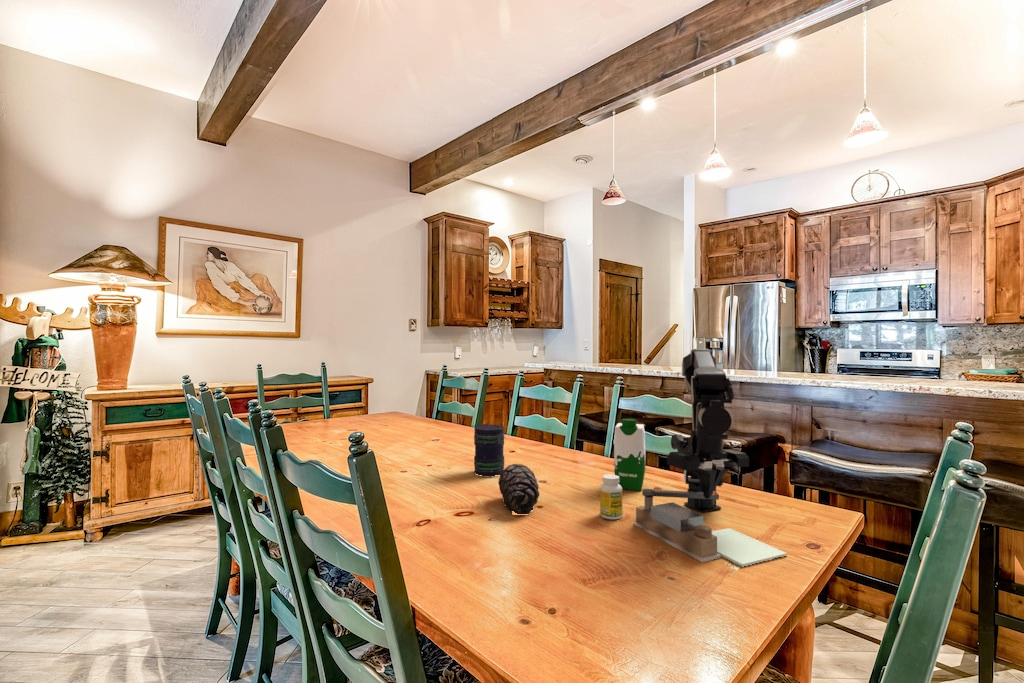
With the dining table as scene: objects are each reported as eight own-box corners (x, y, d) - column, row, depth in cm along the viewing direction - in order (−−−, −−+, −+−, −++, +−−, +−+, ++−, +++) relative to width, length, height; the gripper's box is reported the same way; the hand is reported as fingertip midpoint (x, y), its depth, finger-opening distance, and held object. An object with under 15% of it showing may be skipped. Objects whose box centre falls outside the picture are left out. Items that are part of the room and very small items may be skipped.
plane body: (633, 524, 110) (633, 494, 110) (650, 521, 112) (649, 492, 112) (701, 562, 90) (701, 526, 90) (720, 558, 92) (720, 523, 92)
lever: (642, 496, 107) (642, 489, 107) (641, 492, 110) (641, 486, 110) (719, 500, 105) (719, 493, 105) (716, 496, 107) (716, 489, 107)
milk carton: (612, 489, 136) (612, 419, 136) (616, 481, 145) (616, 415, 145) (644, 492, 133) (644, 421, 134) (646, 483, 142) (646, 416, 142)
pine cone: (510, 520, 113) (510, 478, 113) (494, 497, 130) (494, 460, 130) (551, 516, 115) (551, 475, 115) (530, 494, 132) (530, 458, 132)
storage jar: (470, 476, 150) (470, 429, 150) (477, 468, 160) (477, 424, 160) (501, 477, 148) (501, 430, 148) (506, 469, 158) (506, 425, 158)
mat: (729, 530, 106) (729, 527, 106) (787, 556, 93) (787, 553, 93) (687, 539, 101) (687, 536, 101) (742, 567, 88) (742, 564, 88)
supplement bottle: (611, 510, 119) (611, 472, 119) (627, 517, 114) (627, 477, 114) (595, 514, 116) (595, 475, 116) (611, 521, 111) (611, 480, 111)
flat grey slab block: (672, 513, 105) (672, 502, 105) (703, 527, 97) (703, 515, 97) (651, 517, 103) (651, 505, 103) (680, 532, 95) (680, 519, 95)
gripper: (713, 421, 116) (711, 485, 116) (651, 422, 109) (649, 490, 109) (752, 429, 106) (749, 499, 105) (686, 430, 99) (683, 506, 98)
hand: (707, 498), depth 105 cm, fingers closed
